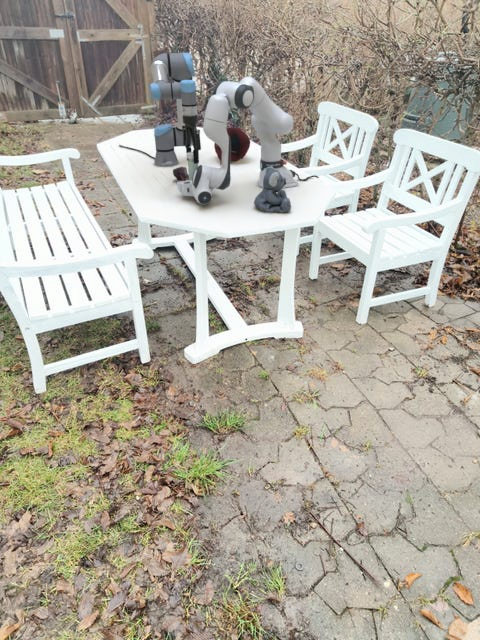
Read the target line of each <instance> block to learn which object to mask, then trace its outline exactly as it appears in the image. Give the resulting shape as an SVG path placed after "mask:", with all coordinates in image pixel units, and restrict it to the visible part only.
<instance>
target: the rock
mask: <svg viewBox="0 0 480 640" xmlns="http://www.w3.org/2000/svg"><path fill="white" fill-rule="evenodd" d="M172 175H173V177H174V178H175V179H176V180H177V182H178V181H186V180H188V179H189V172H188V167H186V166H178V167H176V168H173V169H172Z"/></svg>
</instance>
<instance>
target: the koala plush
mask: <svg viewBox="0 0 480 640" xmlns="http://www.w3.org/2000/svg"><path fill="white" fill-rule="evenodd" d="M285 185H286V181H285V180H284V179H283V177H282V175H281V174H280V173H279V171H278V170H275V169H274V168H273V167H271V166H269V167H267V168H266V173H265V176H264V179H263V187H262V190H261V191H260V192H258V194H257V195H256V197H255V198H254V201H253V205H254V207H255V208H256V209H257V210H261V211H263V212H267V213H271V212H275V213H288V212H290V211H291V210H292V204H291V203H292V202H291V200H290V198H288V195H287V192H286V190H285V189H284V188H283V187H284V186H285Z"/></svg>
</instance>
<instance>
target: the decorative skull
mask: <svg viewBox="0 0 480 640" xmlns="http://www.w3.org/2000/svg"><path fill="white" fill-rule="evenodd" d="M227 133H228V135H229V136H230V138H231V163H236V162H238V161H241V160H242V159H244V158H245V157H246V155H247V153H248V152H249V149H250V147H251V139H250V138H249V136H248V134H246V132H245V131H243V130H242V129H240V128H238V127H233V126H232V127H231V126H230V127H227ZM213 147H214V151H215V154H216V156H217V158H218V160H219V165H220V166H221V164H222V150H221V148H220V146H219V145H218V144H216V143H215V142H214V144H213Z"/></svg>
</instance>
